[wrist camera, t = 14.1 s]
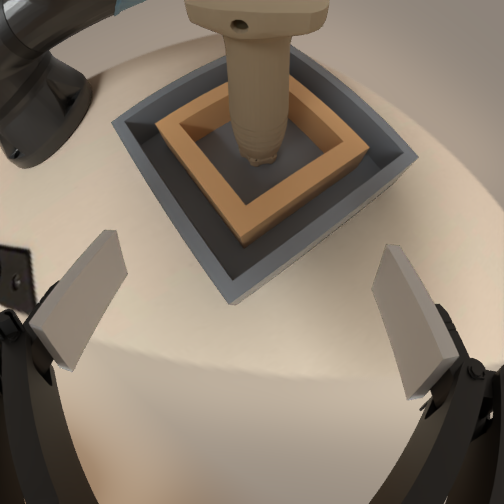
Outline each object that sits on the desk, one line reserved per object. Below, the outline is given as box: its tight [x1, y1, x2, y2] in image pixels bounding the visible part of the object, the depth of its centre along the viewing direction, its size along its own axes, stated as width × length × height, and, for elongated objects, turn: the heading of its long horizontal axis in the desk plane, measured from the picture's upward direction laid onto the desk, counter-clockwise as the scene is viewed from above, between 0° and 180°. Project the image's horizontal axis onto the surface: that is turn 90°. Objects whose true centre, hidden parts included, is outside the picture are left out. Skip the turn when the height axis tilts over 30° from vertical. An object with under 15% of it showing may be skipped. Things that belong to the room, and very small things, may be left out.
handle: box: [184, 0, 329, 167], centre depth 15 cm, size 5×6×15 cm
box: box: [111, 45, 418, 305], centre depth 21 cm, size 18×18×5 cm
